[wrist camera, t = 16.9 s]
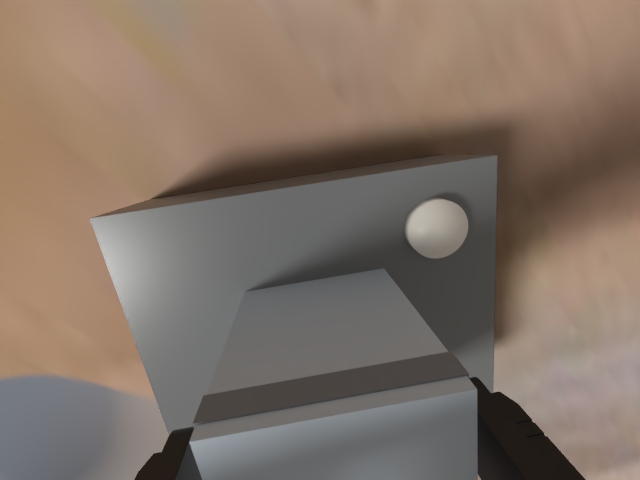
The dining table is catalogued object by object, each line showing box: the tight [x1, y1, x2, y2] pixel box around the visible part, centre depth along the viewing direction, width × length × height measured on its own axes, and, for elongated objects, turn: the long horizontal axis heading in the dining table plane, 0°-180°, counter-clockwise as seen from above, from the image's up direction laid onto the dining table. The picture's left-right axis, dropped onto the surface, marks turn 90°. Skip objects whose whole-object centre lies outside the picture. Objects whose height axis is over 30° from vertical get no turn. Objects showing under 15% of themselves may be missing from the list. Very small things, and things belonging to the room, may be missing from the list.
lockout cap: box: [189, 268, 478, 480], centre depth 10 cm, size 6×6×7 cm
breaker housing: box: [90, 155, 498, 435], centre depth 16 cm, size 16×14×6 cm
